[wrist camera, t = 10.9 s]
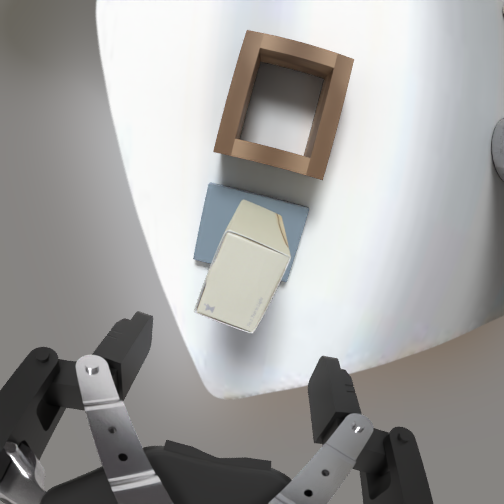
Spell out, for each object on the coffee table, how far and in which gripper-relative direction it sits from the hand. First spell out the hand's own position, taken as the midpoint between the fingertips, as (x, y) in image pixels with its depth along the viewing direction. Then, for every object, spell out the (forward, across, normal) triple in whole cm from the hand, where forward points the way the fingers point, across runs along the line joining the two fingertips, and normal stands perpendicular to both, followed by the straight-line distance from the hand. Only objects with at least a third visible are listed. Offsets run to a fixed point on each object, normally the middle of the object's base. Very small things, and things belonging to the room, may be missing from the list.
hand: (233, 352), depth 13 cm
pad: (+19, 0, 0) cm, 19 cm away
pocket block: (+19, 0, -13) cm, 23 cm away
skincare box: (+18, 0, 0) cm, 18 cm away
